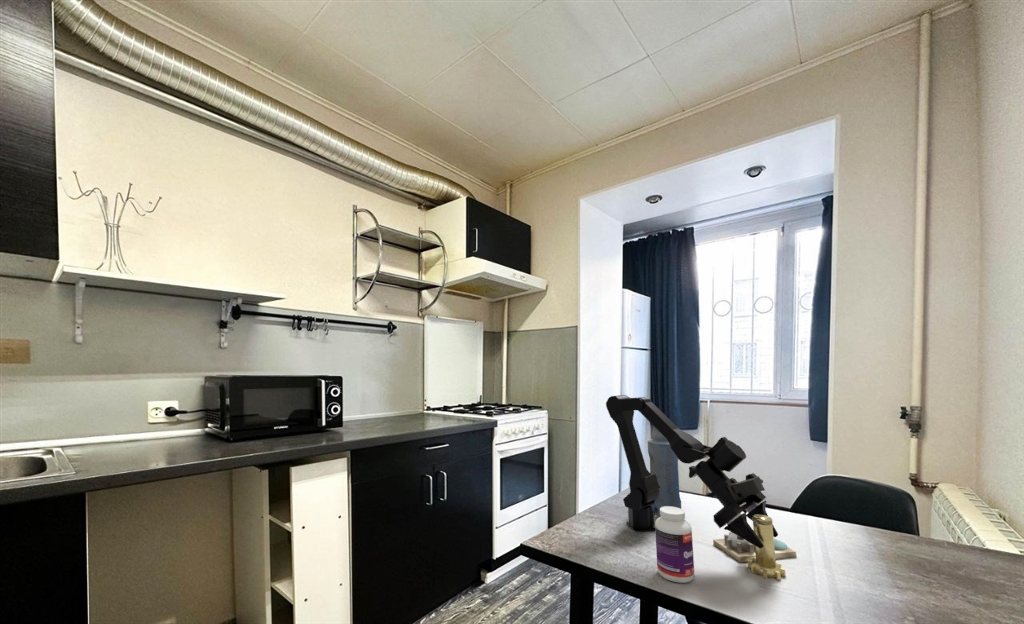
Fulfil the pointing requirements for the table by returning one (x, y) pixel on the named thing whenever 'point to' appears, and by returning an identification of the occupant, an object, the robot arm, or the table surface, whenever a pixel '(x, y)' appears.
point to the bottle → (664, 472)
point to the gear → (765, 550)
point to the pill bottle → (674, 545)
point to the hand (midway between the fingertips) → (769, 541)
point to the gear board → (749, 548)
